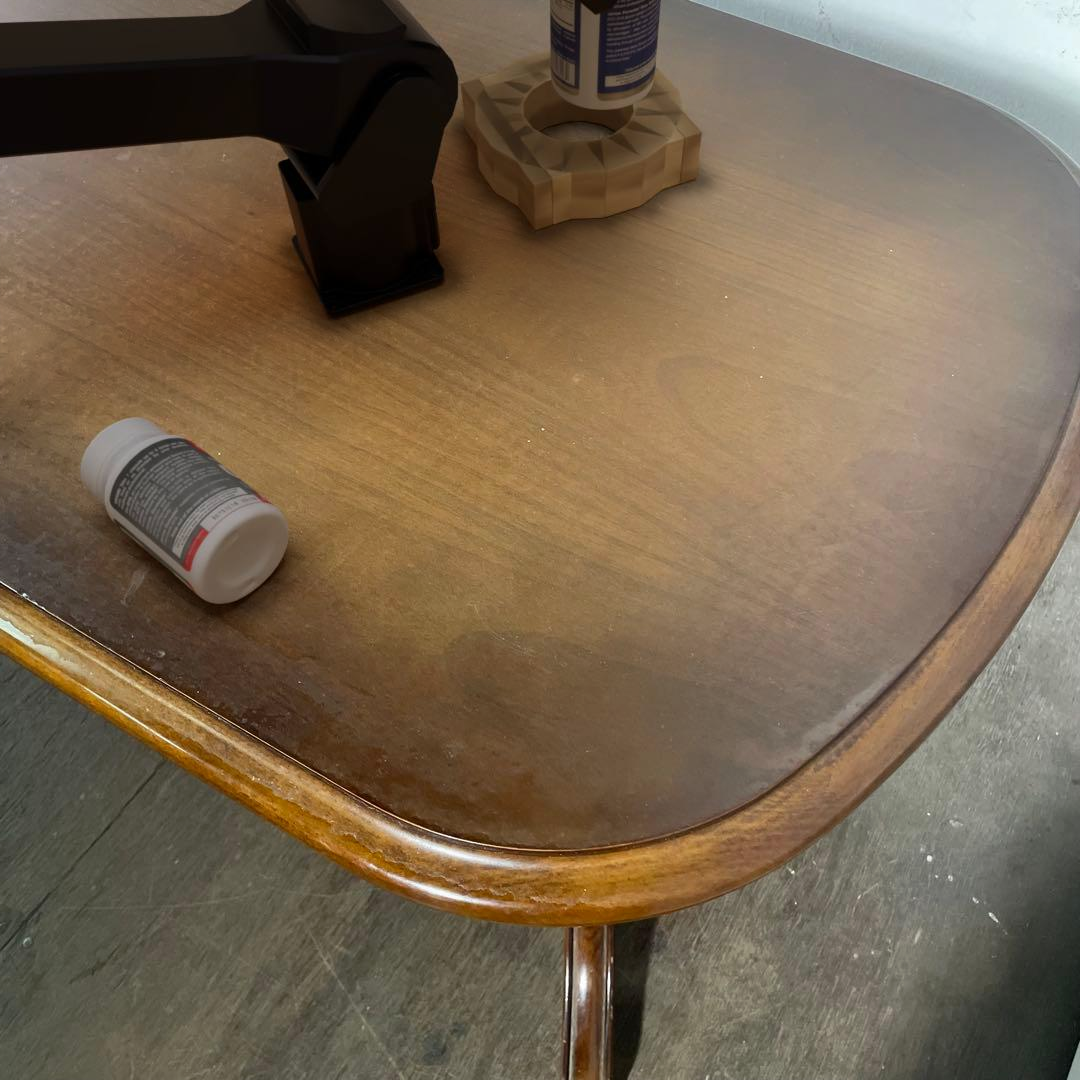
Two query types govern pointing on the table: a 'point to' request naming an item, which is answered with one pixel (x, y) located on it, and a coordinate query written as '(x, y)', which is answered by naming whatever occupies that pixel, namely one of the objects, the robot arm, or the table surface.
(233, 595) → the pill bottle
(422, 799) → the table surface
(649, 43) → the pill bottle
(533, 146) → the socket plate
